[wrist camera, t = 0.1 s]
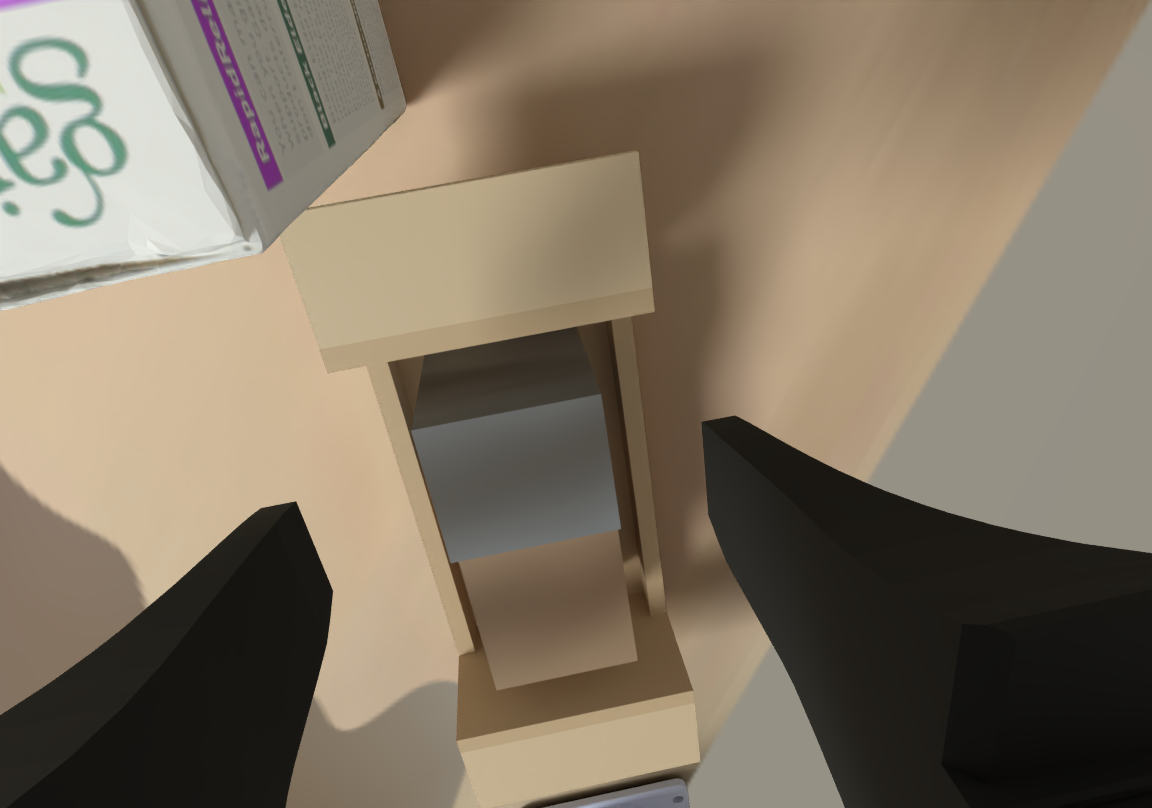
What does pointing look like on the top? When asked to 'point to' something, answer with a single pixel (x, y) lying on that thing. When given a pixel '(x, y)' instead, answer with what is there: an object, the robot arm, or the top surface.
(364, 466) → the top surface
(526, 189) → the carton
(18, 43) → the syrup box
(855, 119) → the top surface
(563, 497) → the box
